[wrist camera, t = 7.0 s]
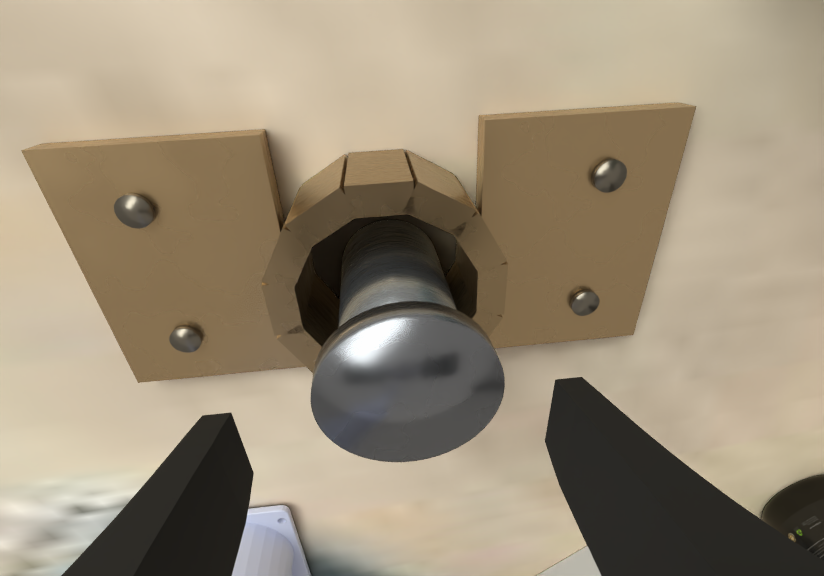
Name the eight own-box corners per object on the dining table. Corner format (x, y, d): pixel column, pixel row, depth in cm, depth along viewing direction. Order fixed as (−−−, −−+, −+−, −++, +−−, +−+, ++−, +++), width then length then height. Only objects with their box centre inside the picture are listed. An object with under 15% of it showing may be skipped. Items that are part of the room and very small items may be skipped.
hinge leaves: (622, 322, 21) (672, 378, 18) (148, 367, 20) (102, 437, 16) (678, 102, 16) (764, 121, 12) (41, 143, 15) (-59, 177, 11)
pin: (450, 307, 20) (499, 449, 13) (337, 320, 19) (327, 472, 13) (449, 199, 17) (510, 307, 10) (317, 211, 17) (292, 332, 10)
